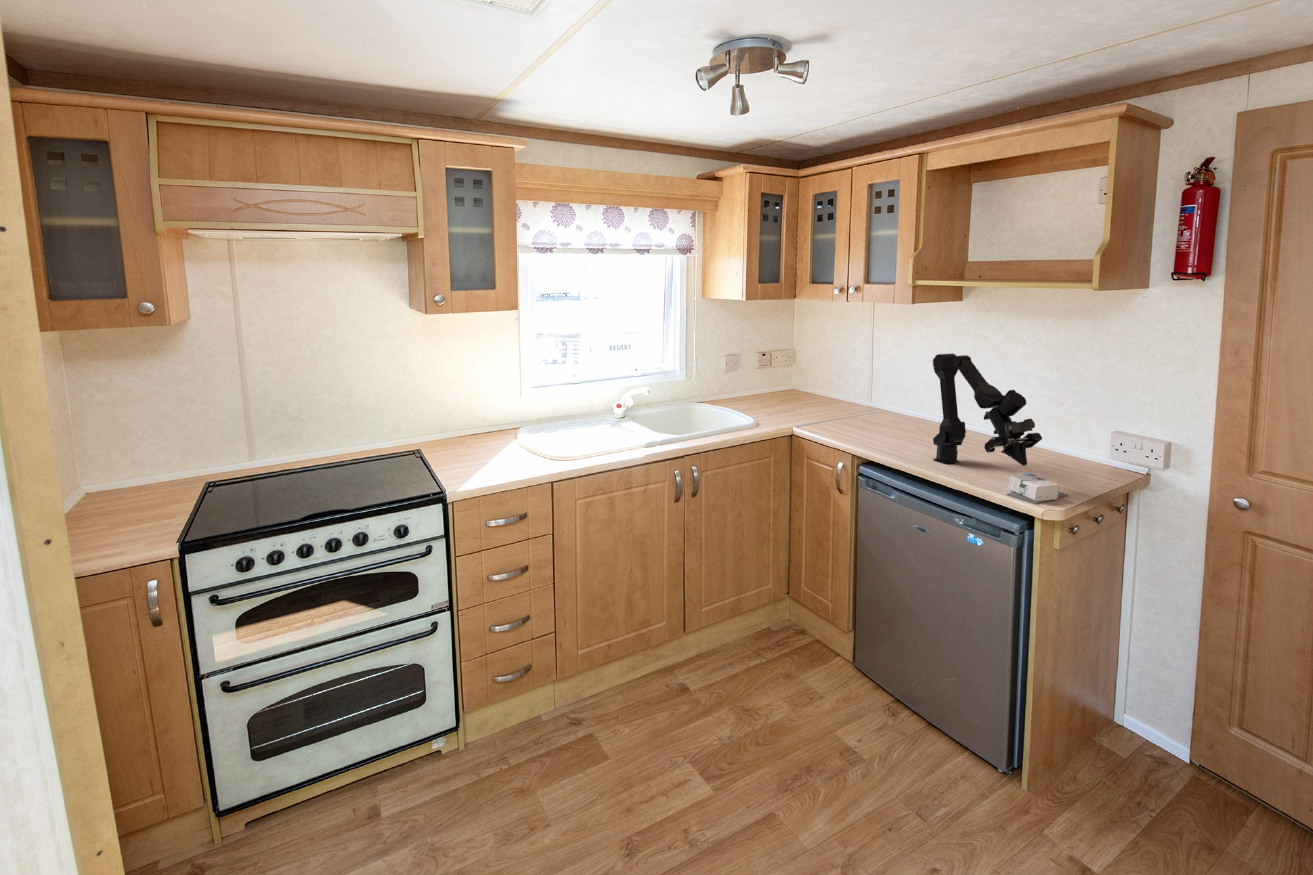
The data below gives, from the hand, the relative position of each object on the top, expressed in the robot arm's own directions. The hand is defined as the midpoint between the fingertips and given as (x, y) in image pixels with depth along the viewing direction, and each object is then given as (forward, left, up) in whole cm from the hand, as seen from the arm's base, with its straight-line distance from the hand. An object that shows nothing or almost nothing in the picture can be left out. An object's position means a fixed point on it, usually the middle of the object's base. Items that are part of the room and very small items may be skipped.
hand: (1025, 465), depth 231 cm
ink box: (-2, 0, -6) cm, 6 cm away
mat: (+5, +1, -9) cm, 10 cm away
